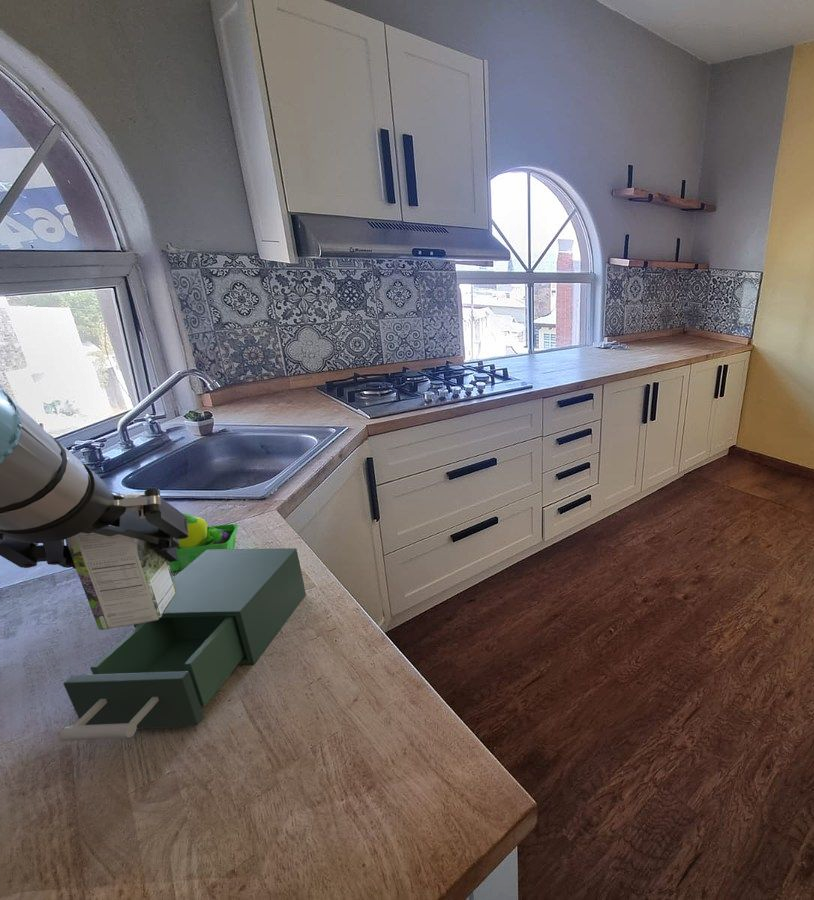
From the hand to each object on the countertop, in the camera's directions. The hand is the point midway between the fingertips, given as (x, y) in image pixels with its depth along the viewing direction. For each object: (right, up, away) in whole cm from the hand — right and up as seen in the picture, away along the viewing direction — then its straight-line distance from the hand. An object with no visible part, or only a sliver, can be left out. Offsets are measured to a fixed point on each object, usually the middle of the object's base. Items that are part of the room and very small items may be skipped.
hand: (136, 558), depth 62 cm
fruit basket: (-16, -8, +30) cm, 35 cm away
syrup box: (+2, -6, -1) cm, 7 cm away
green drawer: (+3, -18, +2) cm, 18 cm away
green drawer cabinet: (+2, -14, +14) cm, 20 cm away
